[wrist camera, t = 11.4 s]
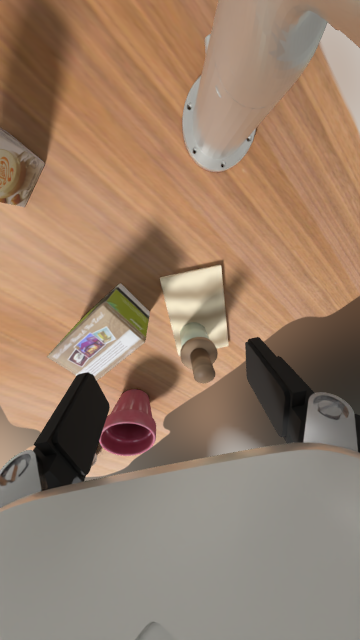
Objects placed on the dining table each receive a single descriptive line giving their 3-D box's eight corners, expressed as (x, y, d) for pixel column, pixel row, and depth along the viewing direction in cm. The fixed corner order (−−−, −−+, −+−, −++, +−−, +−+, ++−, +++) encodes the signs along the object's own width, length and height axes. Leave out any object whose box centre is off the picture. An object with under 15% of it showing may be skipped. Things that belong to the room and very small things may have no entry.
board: (159, 277, 41) (159, 278, 40) (219, 264, 41) (221, 265, 40) (178, 353, 51) (178, 356, 50) (227, 343, 51) (228, 345, 50)
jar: (176, 325, 46) (179, 342, 38) (204, 319, 46) (212, 335, 38) (182, 348, 49) (185, 367, 42) (208, 342, 49) (215, 361, 41)
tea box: (110, 345, 48) (89, 388, 35) (79, 320, 45) (42, 357, 31) (151, 311, 45) (146, 344, 32) (121, 280, 41) (100, 303, 28)
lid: (177, 341, 38) (179, 362, 32) (214, 333, 38) (223, 353, 32) (183, 369, 42) (187, 394, 35) (217, 362, 42) (227, 386, 35)
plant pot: (162, 387, 56) (162, 427, 45) (151, 416, 62) (147, 459, 50) (116, 378, 53) (102, 418, 42) (108, 410, 59) (94, 453, 47)
